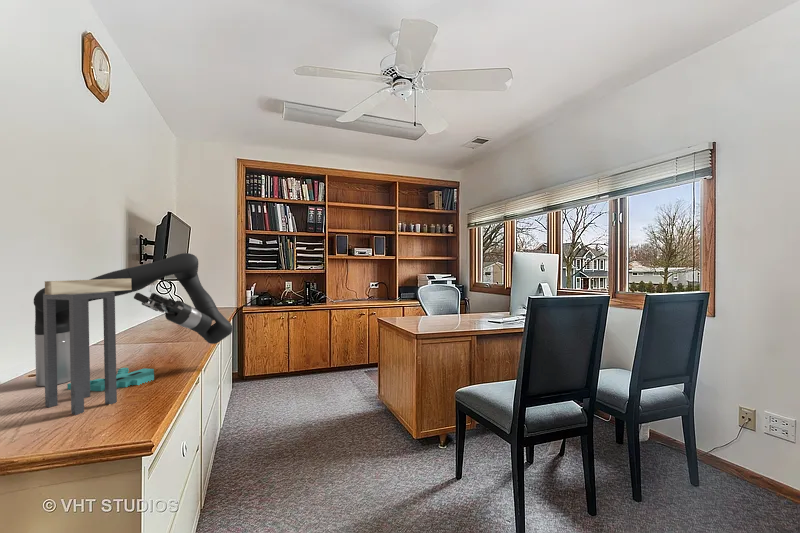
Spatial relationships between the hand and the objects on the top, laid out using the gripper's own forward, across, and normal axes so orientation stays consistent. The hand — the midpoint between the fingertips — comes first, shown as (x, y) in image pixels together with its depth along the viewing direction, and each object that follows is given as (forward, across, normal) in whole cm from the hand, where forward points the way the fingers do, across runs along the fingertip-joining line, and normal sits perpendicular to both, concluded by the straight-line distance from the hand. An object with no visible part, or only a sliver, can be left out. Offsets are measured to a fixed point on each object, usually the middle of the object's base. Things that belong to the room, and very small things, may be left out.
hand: (143, 295), depth 125 cm
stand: (0, 0, +35) cm, 35 cm away
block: (+14, 0, +6) cm, 15 cm away
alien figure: (-16, -14, +26) cm, 34 cm away
